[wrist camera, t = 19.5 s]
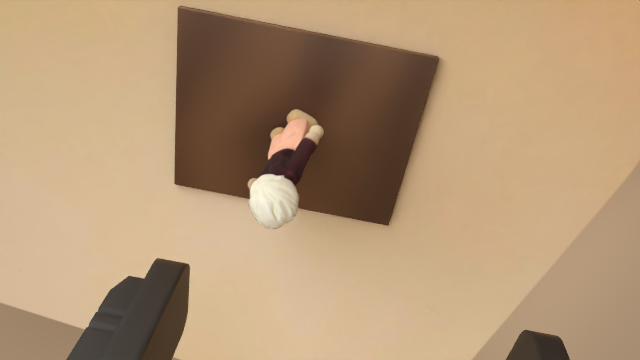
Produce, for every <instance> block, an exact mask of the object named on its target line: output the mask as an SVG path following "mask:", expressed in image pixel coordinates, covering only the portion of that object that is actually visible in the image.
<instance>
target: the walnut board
mask: <svg viewBox="0 0 640 360" xmlns="http://www.w3.org/2000/svg"><path fill="white" fill-rule="evenodd" d="M438 60H439V58H438V57H437V56H432V55H427V54H422V53H417V52H412V51H407V50H402V49H397V48H392V47H387V46H382V45H376V44H371V43H366V42H361V41H356V40H351V39H346V38H341V37H336V36H331V35H326V34H321V33H315V32H310V31H305V30H300V29H295V28H290V27H285V26H280V25H275V24H270V23H265V22H260V21H254V20H249V19H244V18H239V17H234V16H229V15H224V14H219V13H214V12H209V11H204V10H199V9H193V8H188V7H183V6H180V7H178V31H177V82H176V132H175V183H174V184H176V185H181V186H186V187H192V188H197V189H202V190H207V191H212V192H217V193H223V194H228V195H233V196H238V197H243V198H248V199H250V190H249V188H248V182H249V180H250V179H252V178H257V179H258V178H259V177H260V176H261V174H262V172H263V169H264V167H265V165H266V163H267V161H268V152H269V149H270V145H271V141H272V139H271V136H270V134H271V132H272V131H273V130H274V129H276V128H278V127H283V128H285V127H286V126H287V124H288V122H287V116H288V114H289V113H290V112H291V111H292V110H295V109H298V110H301V111H303V112H304V113H306V114H308V115H310V116H311V117H313V118H314V119H315V120H316V121H317V123H318V125H319V126H321V127H322V128H323V130H324V134H323V136H322V137H321V138H320V139H319V142H318V144H317V147H316V149H315V151H314V153H313V154H312V156H311V157H310V159H309V160H308V162H307V164H306V166H305V168H304V171H303V174H302V177H301V180H300V181H299V182H298V183H297V184H296V185H295V187H296V190H297V193H298V195H299V201H298V208H300V209H305V210H311V211H316V212H321V213H326V214H331V215H336V216H342V217H347V218H352V219H357V220H362V221H367V222H373V223H378V224H383V225H389V222H390V219H391V216H392V212H393V209H394V206H395V202H396V199H397V196H398V192H399V189H400V186H401V182H402V179H403V176H404V173H405V169H406V166H407V163H408V159H409V156H410V153H411V149H412V146H413V143H414V139H415V136H416V133H417V130H418V126H419V123H420V120H421V116H422V113H423V110H424V106H425V103H426V100H427V96H428V93H429V90H430V87H431V83H432V80H433V77H434V73H435V70H436V67H437V63H438Z"/></svg>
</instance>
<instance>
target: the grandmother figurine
mask: <svg viewBox="0 0 640 360" xmlns="http://www.w3.org/2000/svg"><path fill="white" fill-rule="evenodd" d="M287 122H288V124H287V126H286V127H285V128H283V127H278V128H276V129H274V130H273V131H272V132H271V134H270V136H271V139H272V141H271V145H270V149H269V152H268V161H267V163H266V165H265V167H264V169H263V172H262V174H261V176H260V177H259V178H258V179H257V178H252V179H250V180H249V182H248V188H249V190H250V199H249V208H250V209H251V211H252V213H253V215H254V217H255V218H256V220H257V221H258V222H259V223H260V224H261V225H262V226H263V227H265V228H269V229H270V228H272V229H277V228H279V227H281V226H283V225H284V224H286V223H288V222H290V221H292V219H293V217H295V215H296V213H297V210H298V201H299V195H298V193H297V190H296V187H295V185H296V184H297V183H298V182H299V181H300V180H301V177H302V174H303V171H304V168H305V166H306V164H307V162H308V160H309V159H310V157H311V156H312V154H313V153H314V151H315V149H316V147H317V144H318V142H319V139H320V138H321V137H322V136H323V134H324V130H323V128H322V127H321V126H319V125H318V123H317V121H316V120H315V119H314V118H313V117H311V116H310V115H308V114H306V113H304V112H303V111H301V110H298V109H295V110H292V111H291V112H290V113H289V114H288V116H287Z"/></svg>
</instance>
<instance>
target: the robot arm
mask: <svg viewBox="0 0 640 360" xmlns="http://www.w3.org/2000/svg"><path fill="white" fill-rule="evenodd" d="M189 275H190V267H189V264H185V263H180V262H175V261H170V260H165V259H159V258H157V259H156V260H155V261H154V263H153V264H152V266H151V268H150V270H149V271H148V273H147V275H146V277H145V279H142V278H137V277H132V276H128V277H127V278H126V279H124V280H123V281H122V282H120V283H119V284H118V285H116V286H115V287H114V288H112V289H111V290H110V291H109V293H108V294H107V296H106V298H105V299H104V301H103V302H102V304H101V305H100V307H99V310H98V312H96V313H95V315H94V317H93V318H92V320H91V321H90V323H89V326H88V327H87V328H86V329H85V331H84V333H83V334H82V336H81V337H80V339H79V340H78V342H77V344H76V345H75V347H74V348H73V350H72V352H71V353H70V355H69V357H68V358H67V360H172V357H173V355H174V353H175V350H176V348H177V345H178V343H179V341H180V338H181V336H182V333H183V330H184V327H185V323H186V319H187V313H188V298H189ZM506 360H570V359H569V356H568V354H567V351H566V349H565V346H564V344H563V342H562V340H561V338H559V337H558V336H555V335H550V334H544V333H539V332H534V331H529V330H524V331H523V332H522V333H521V334H520V335H519V337H518V339H517V341H516V343H515V344H514V346H513V348H512V350H511V352H510V353H509V355H508V357H507V359H506Z"/></svg>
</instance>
